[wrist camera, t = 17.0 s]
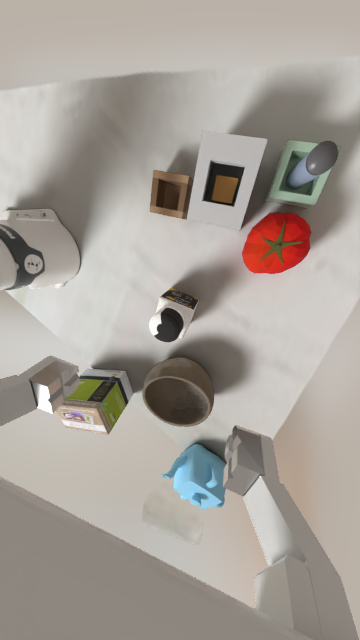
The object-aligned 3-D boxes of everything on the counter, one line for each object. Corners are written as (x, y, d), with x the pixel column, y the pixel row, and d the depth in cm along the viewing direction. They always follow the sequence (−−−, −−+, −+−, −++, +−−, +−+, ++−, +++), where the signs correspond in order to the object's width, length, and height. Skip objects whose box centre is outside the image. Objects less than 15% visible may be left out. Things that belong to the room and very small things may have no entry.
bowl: (222, 397, 53) (219, 430, 44) (166, 398, 59) (153, 427, 51) (207, 345, 47) (200, 371, 38) (146, 352, 53) (128, 376, 45)
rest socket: (265, 200, 32) (268, 197, 29) (282, 150, 29) (288, 139, 25) (306, 208, 31) (315, 205, 28) (328, 157, 28) (341, 146, 24)
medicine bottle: (199, 298, 42) (187, 320, 32) (189, 324, 46) (175, 352, 35) (170, 287, 43) (149, 305, 33) (163, 313, 47) (141, 337, 36)
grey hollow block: (197, 221, 36) (186, 219, 28) (211, 155, 31) (202, 130, 24) (239, 230, 35) (239, 230, 27) (260, 162, 30) (267, 138, 22)
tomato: (314, 240, 33) (336, 243, 25) (263, 282, 37) (269, 294, 30) (278, 199, 32) (290, 190, 24) (231, 247, 36) (229, 252, 29)
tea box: (97, 390, 67) (64, 428, 54) (87, 367, 63) (49, 402, 50) (134, 394, 62) (108, 436, 50) (126, 369, 59) (95, 408, 46)
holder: (158, 213, 37) (149, 211, 33) (163, 176, 35) (153, 169, 31) (187, 219, 36) (181, 218, 33) (194, 182, 34) (188, 175, 30)
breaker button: (213, 201, 32) (211, 199, 30) (218, 178, 30) (216, 174, 28) (231, 205, 31) (231, 203, 29) (238, 182, 30) (238, 178, 28)
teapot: (227, 444, 61) (224, 496, 49) (228, 474, 67) (226, 526, 55) (173, 434, 66) (159, 478, 54) (179, 463, 72) (168, 508, 61)
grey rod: (282, 187, 30) (302, 172, 21) (290, 165, 29) (315, 139, 20) (301, 190, 30) (329, 176, 21) (310, 168, 28) (344, 142, 20)
